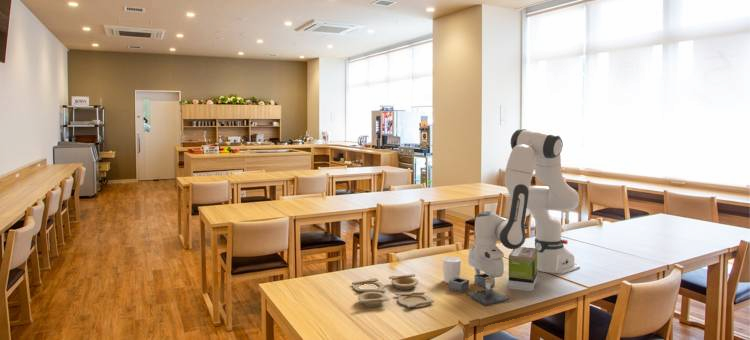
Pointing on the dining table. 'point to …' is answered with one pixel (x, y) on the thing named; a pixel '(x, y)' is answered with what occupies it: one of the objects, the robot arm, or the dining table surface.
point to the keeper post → (488, 295)
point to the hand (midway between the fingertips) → (484, 281)
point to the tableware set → (406, 299)
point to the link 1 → (459, 285)
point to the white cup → (451, 268)
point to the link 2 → (482, 280)
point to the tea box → (523, 268)
